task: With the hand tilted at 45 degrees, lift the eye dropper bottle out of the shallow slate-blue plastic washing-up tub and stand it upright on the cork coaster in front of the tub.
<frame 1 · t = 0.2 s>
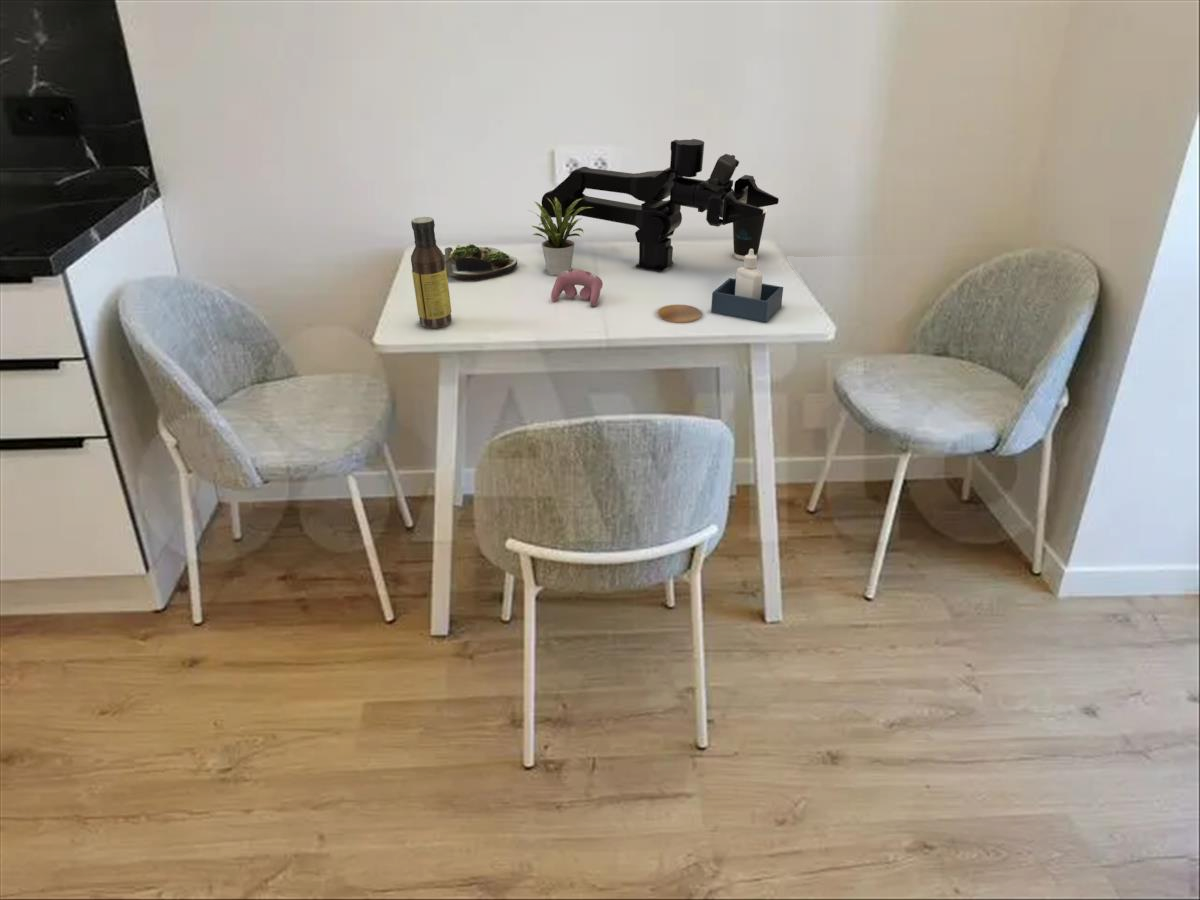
hand: (770, 206, 177), 16 cm above the table, tool horizontal, fingers open, 9 cm apart
house plant: (565, 271, 193), on the table
coaster: (679, 314, 171), on the table
dixie cup: (745, 257, 201), on the table
video game controller: (577, 301, 178), on the table
sauce bottle: (435, 324, 168), on the table
tub: (746, 309, 173), on the table
salad plate: (475, 269, 195), on the table
eye dropper bottle: (746, 309, 173), resting on tub
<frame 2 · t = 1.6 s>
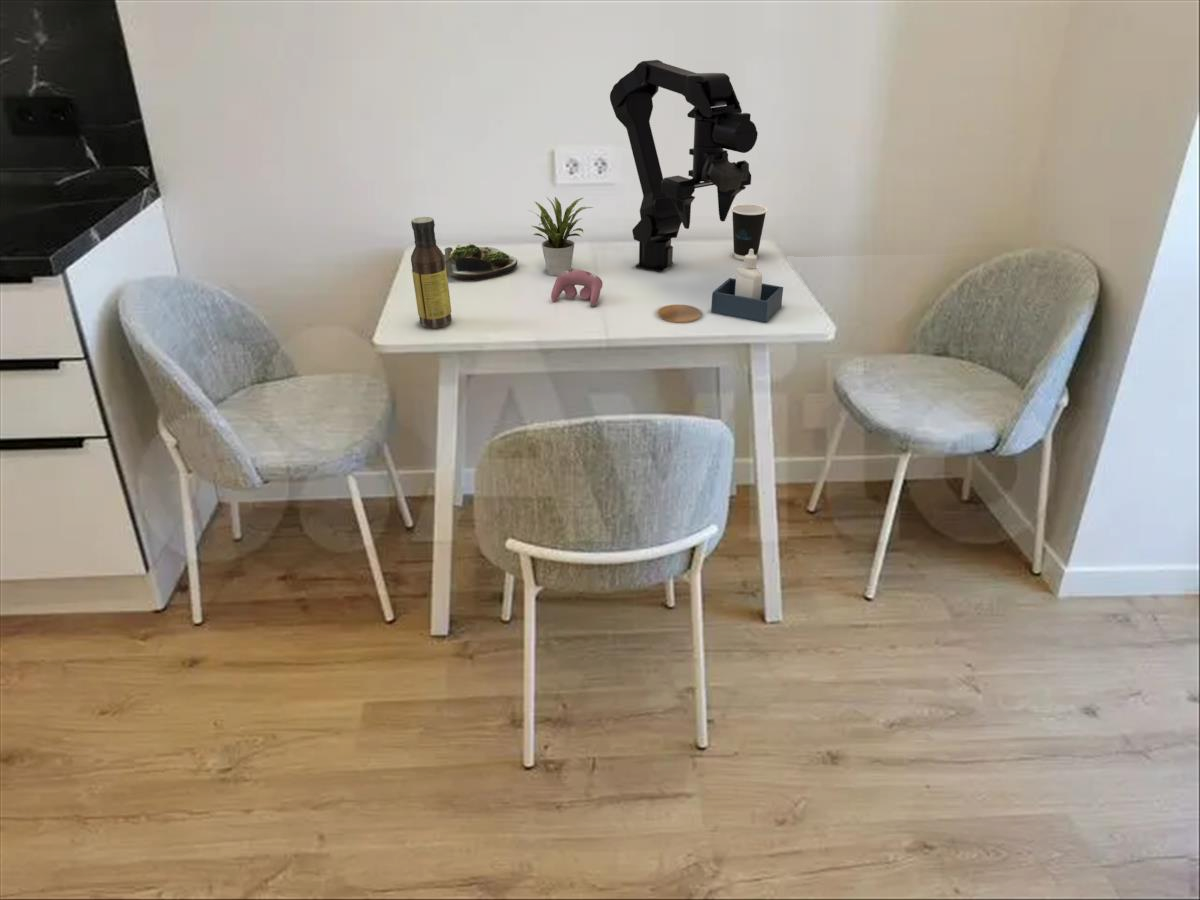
hand: (704, 224, 178), 13 cm above the table, tool pointing down, fingers open, 9 cm apart
nothing on the table moved.
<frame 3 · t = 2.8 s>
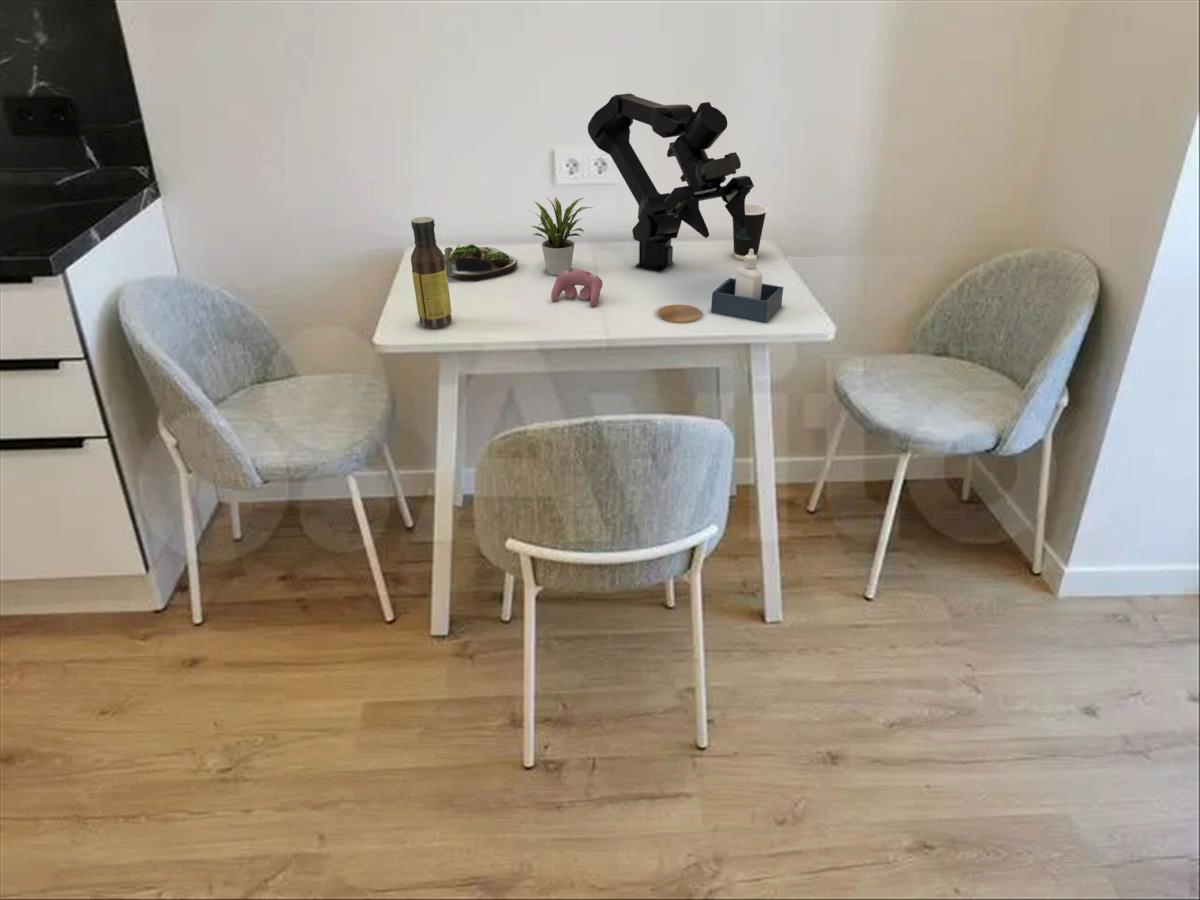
hand: (726, 232, 172), 13 cm above the table, tool tilted 45°, fingers open, 9 cm apart
nothing on the table moved.
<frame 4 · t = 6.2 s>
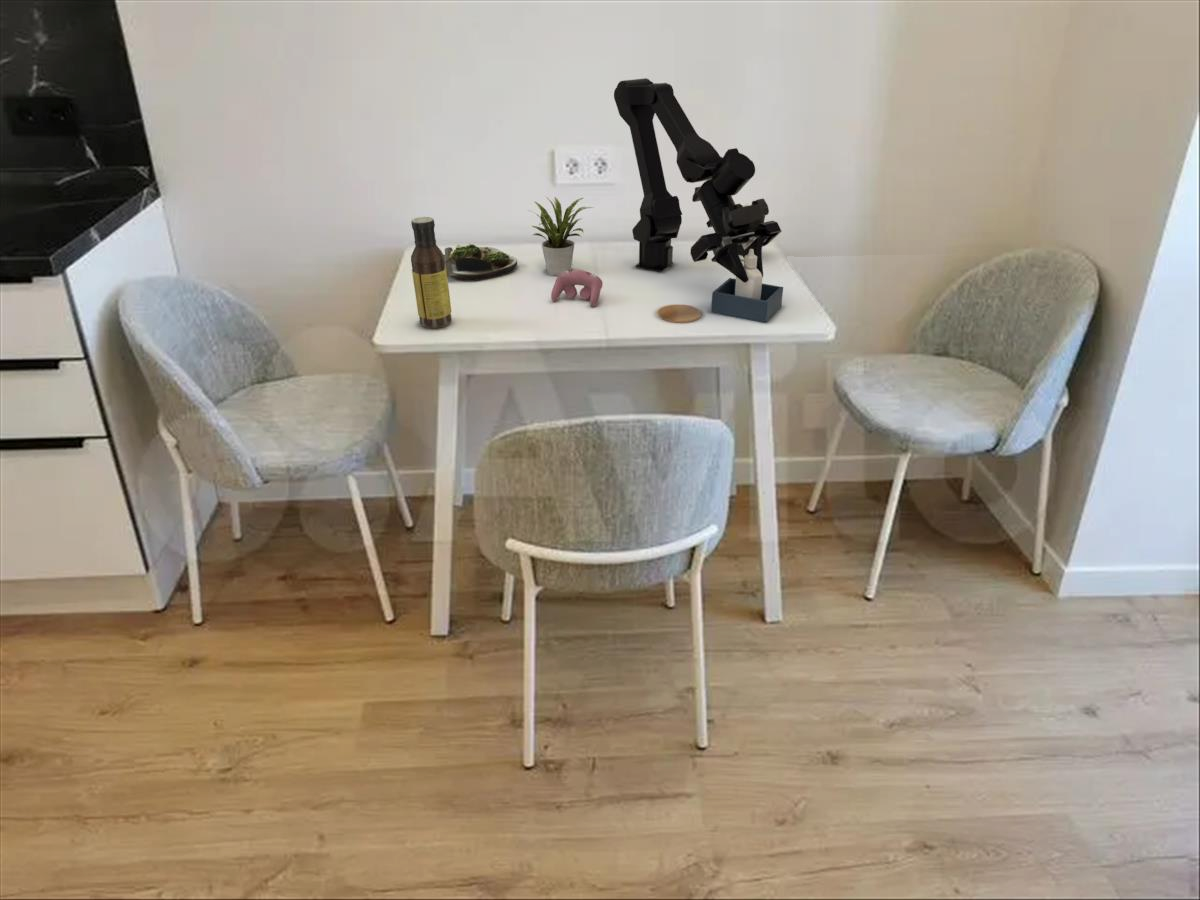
hand: (753, 279, 169), 7 cm above the table, tool tilted 45°, fingers closed on eye dropper bottle, 3 cm apart
eye dropper bottle: (746, 309, 173), resting on tub, touching gripper
everything else where it was.
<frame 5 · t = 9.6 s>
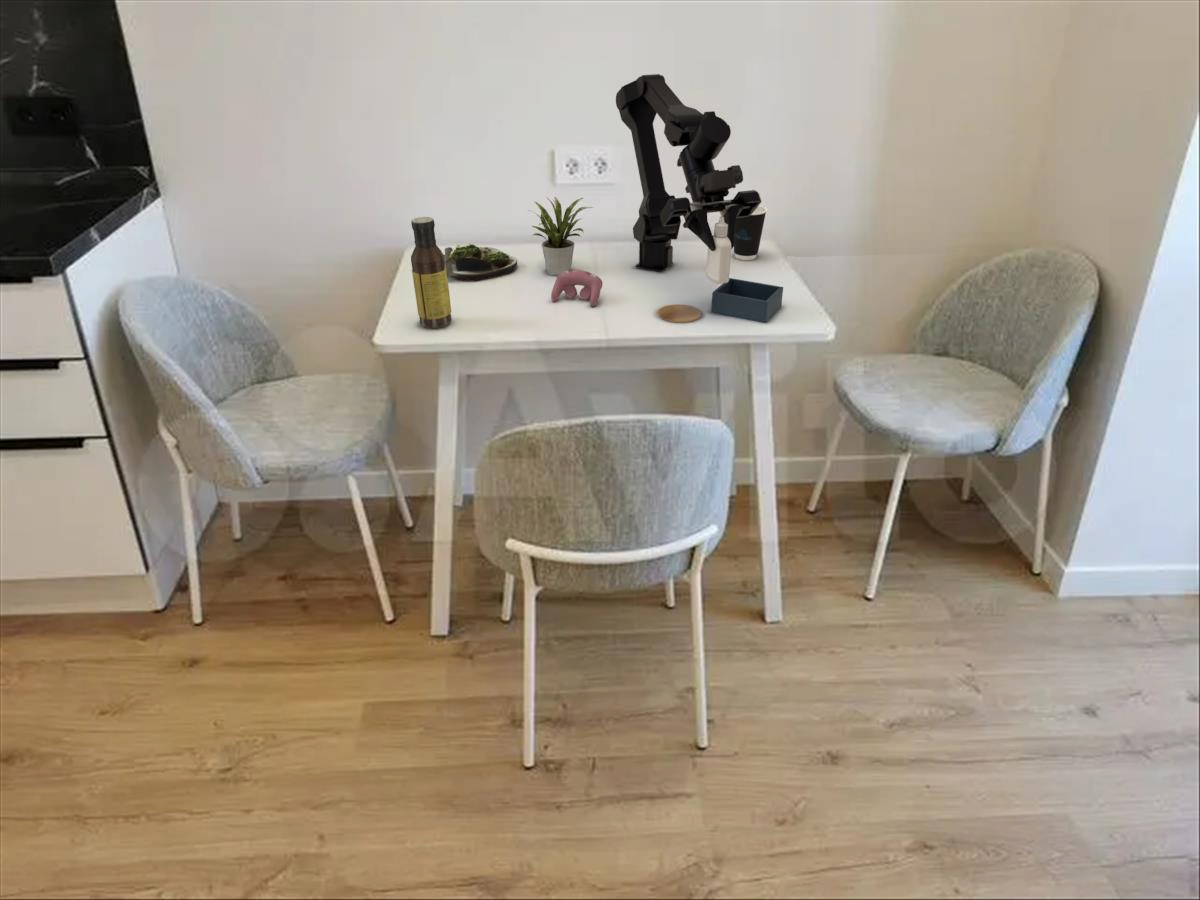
hand: (722, 248, 164), 13 cm above the table, tool tilted 45°, fingers closed on eye dropper bottle, 3 cm apart
eye dropper bottle: (717, 280, 169), point 7 cm above the table, touching gripper
everything else where it was.
when the fingers open (7 cm above the table, at t = 13.5 s): eye dropper bottle stays where it is, resting on coaster.
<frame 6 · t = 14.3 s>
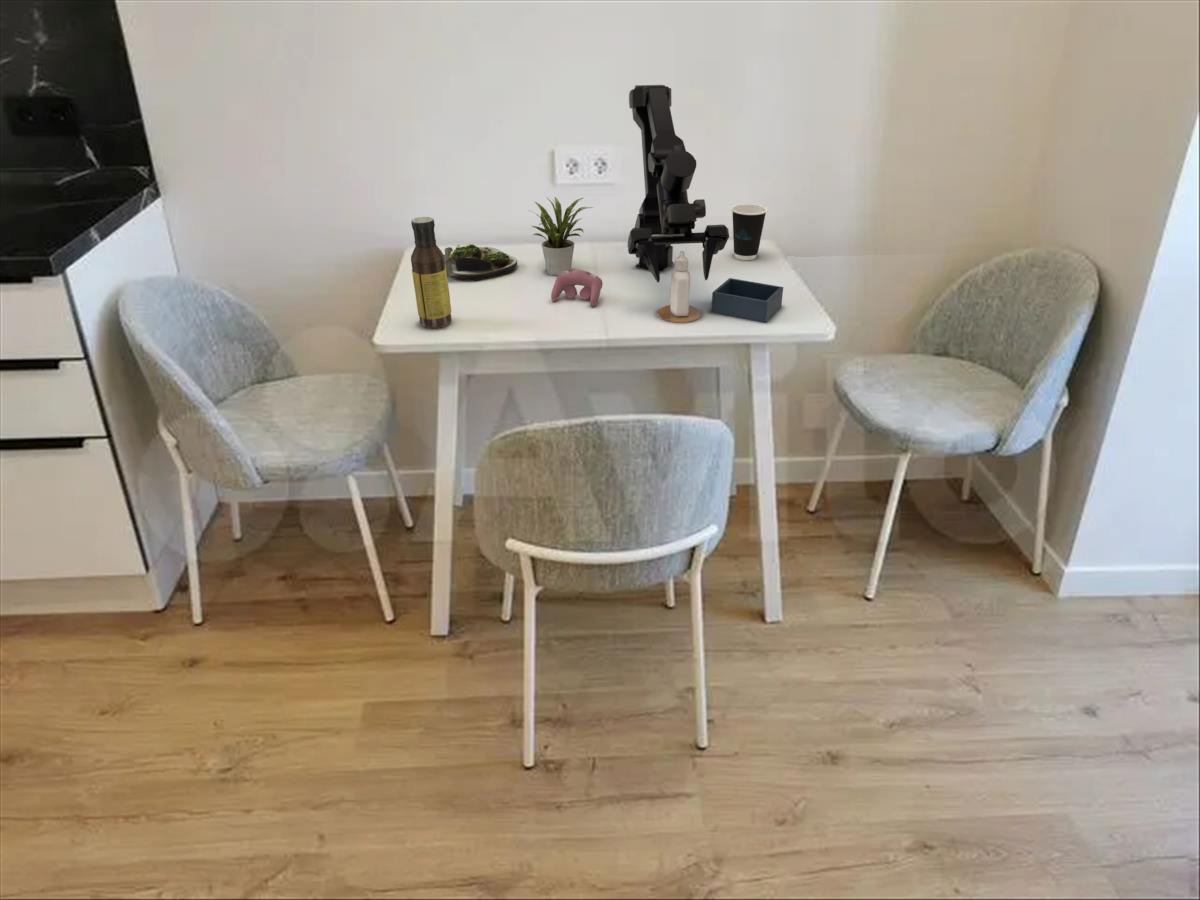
hand: (682, 280, 166), 7 cm above the table, tool tilted 45°, fingers open, 9 cm apart
eye dropper bottle: (679, 312, 171), resting on coaster
everything else where it was.
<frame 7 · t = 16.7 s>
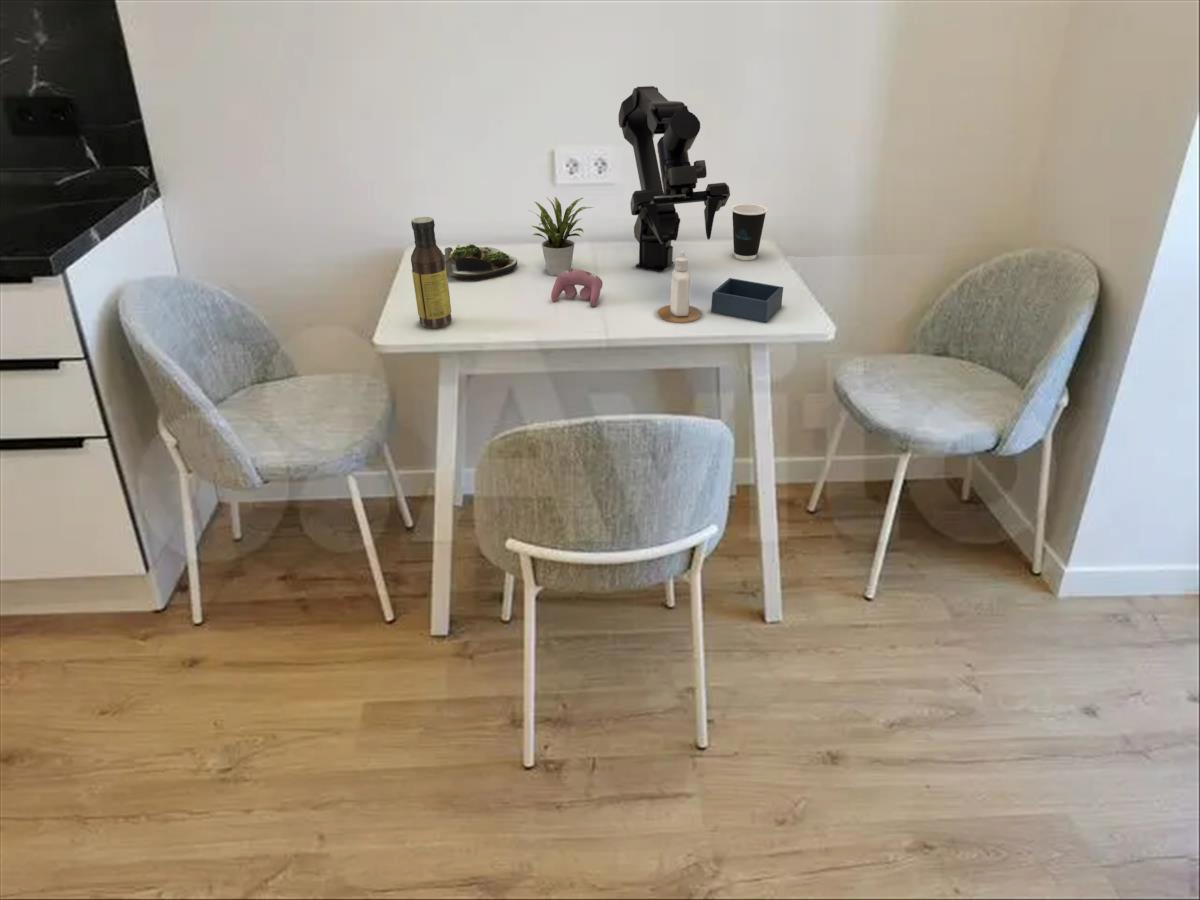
hand: (685, 241, 170), 13 cm above the table, tool tilted 40°, fingers open, 9 cm apart
nothing on the table moved.
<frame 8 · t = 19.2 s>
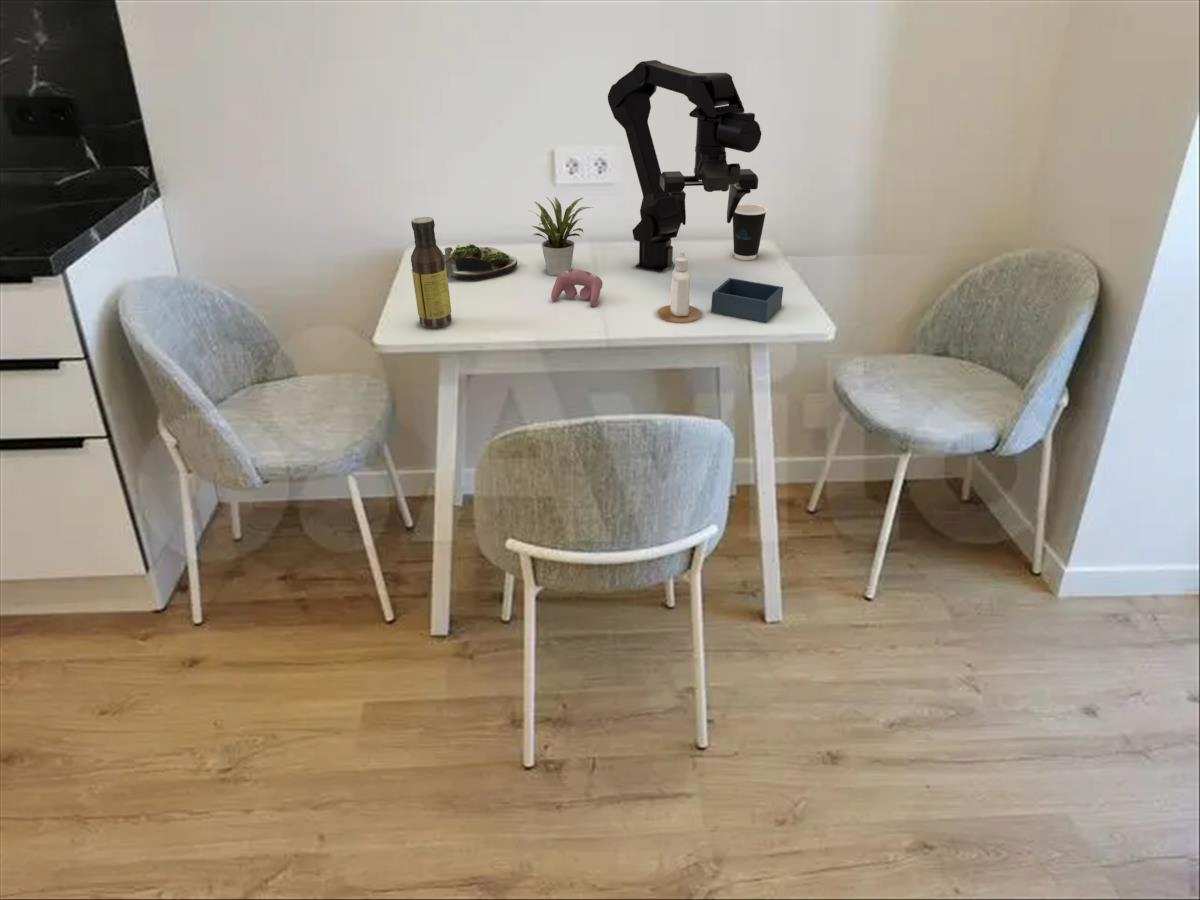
hand: (706, 223, 179), 13 cm above the table, tool pointing down, fingers open, 9 cm apart
nothing on the table moved.
at the end: eye dropper bottle 0.2 cm off-centre on the coaster, point 0.2 cm above the coaster's base; eye dropper bottle tilted 0°; the gripper is holding nothing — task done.
